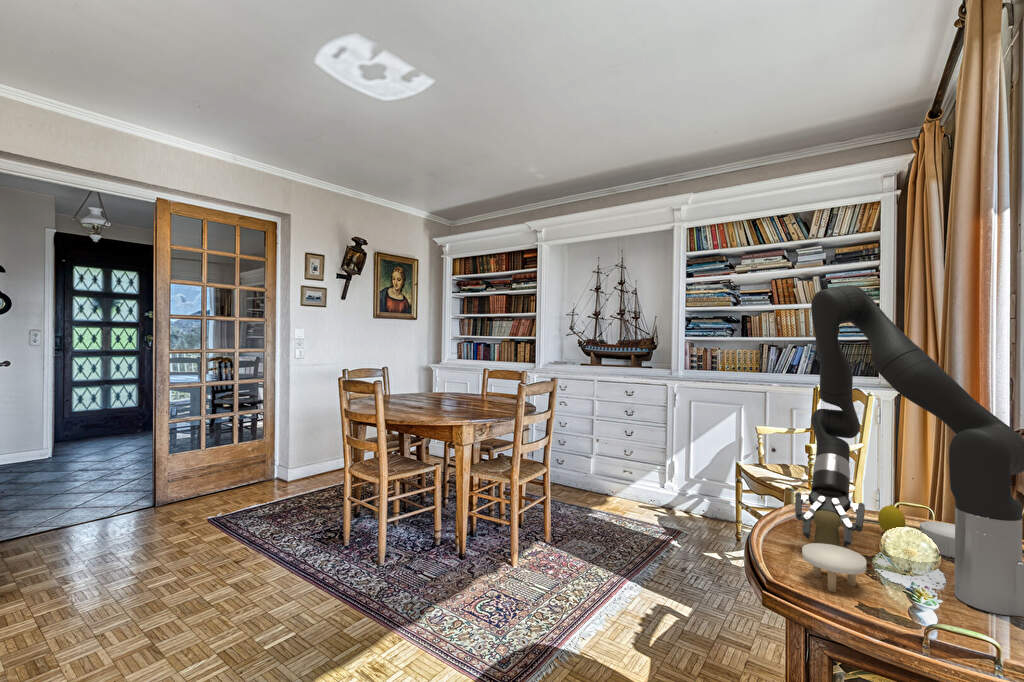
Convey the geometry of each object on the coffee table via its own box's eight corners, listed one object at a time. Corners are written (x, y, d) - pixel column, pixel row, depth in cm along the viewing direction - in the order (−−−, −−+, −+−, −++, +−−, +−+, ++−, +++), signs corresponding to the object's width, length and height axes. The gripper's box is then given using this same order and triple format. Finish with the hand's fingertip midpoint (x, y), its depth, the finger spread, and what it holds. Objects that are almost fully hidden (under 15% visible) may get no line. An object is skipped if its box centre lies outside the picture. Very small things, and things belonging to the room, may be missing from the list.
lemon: (903, 534, 127) (904, 503, 127) (906, 542, 123) (907, 509, 123) (877, 530, 130) (877, 499, 130) (879, 537, 126) (879, 505, 126)
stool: (866, 581, 102) (867, 552, 102) (865, 603, 94) (865, 571, 94) (805, 566, 109) (805, 539, 109) (798, 585, 100) (798, 556, 100)
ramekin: (986, 566, 110) (986, 543, 110) (920, 553, 116) (920, 531, 116) (978, 550, 119) (979, 528, 119) (918, 538, 125) (918, 517, 125)
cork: (847, 567, 108) (848, 517, 108) (817, 565, 110) (817, 515, 110) (835, 556, 114) (836, 508, 114) (806, 553, 116) (807, 506, 116)
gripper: (795, 463, 122) (788, 525, 113) (867, 473, 114) (865, 541, 104) (798, 480, 127) (791, 541, 117) (867, 491, 118) (865, 557, 109)
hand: (826, 540), depth 111 cm, fingers open, 6 cm apart
